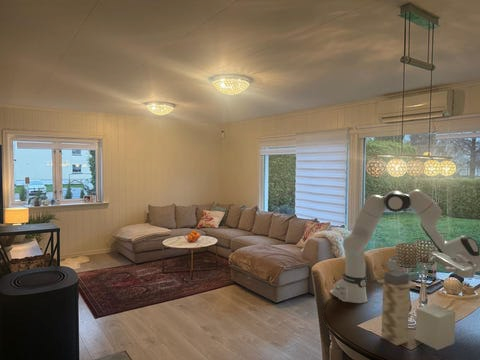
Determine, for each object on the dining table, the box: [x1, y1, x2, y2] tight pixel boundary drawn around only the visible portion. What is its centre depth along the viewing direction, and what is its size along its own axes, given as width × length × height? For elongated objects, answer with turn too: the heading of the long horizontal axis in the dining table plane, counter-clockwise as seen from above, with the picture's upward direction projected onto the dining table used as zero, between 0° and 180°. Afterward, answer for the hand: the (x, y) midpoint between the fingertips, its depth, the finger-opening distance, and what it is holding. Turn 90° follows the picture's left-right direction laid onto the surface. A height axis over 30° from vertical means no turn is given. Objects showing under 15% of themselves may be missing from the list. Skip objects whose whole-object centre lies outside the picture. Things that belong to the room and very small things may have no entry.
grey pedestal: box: [415, 303, 456, 351], centre depth 146 cm, size 10×12×14 cm
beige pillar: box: [377, 277, 417, 346], centre depth 147 cm, size 12×10×26 cm
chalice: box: [387, 257, 403, 272], centre depth 226 cm, size 14×14×15 cm
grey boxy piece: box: [384, 270, 420, 285], centre depth 149 cm, size 6×18×4 cm, turn 117°
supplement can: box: [427, 262, 438, 279], centre depth 239 cm, size 8×8×15 cm
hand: (437, 264), depth 159 cm, fingers open, 8 cm apart
